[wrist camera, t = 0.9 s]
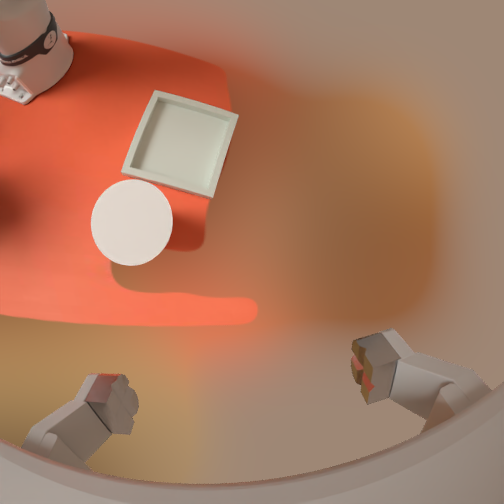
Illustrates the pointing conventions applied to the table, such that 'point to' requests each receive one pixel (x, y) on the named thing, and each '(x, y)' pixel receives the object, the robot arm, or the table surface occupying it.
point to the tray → (180, 144)
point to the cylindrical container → (131, 222)
